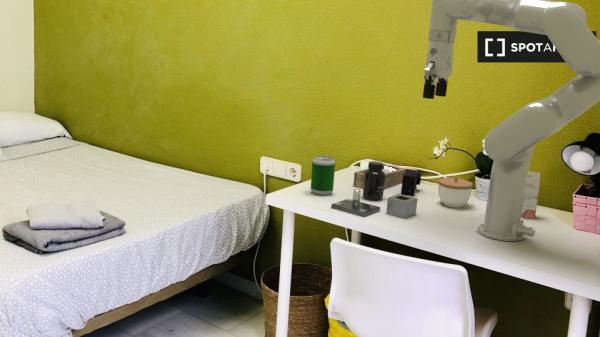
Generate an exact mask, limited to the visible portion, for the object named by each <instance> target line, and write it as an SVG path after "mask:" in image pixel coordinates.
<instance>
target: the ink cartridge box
mask: <svg viewBox="0 0 600 337" xmlns="http://www.w3.org/2000/svg"><path fill="white" fill-rule="evenodd" d="M529 176H530V177H529ZM540 179H541V173H540V172H534V171H528V176H527V182H526V188H525V195H524V201H523V208H522V215H521V218H524V219H530V220H535V219H536V212H537V207H538V206H537V205H538V199H539V198H538V197H539V193H540V192H539V191H540V184H541V183H540V182H541V180H540Z"/></svg>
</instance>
